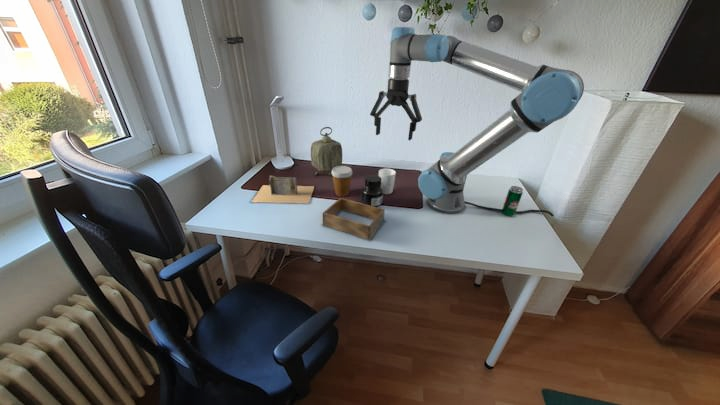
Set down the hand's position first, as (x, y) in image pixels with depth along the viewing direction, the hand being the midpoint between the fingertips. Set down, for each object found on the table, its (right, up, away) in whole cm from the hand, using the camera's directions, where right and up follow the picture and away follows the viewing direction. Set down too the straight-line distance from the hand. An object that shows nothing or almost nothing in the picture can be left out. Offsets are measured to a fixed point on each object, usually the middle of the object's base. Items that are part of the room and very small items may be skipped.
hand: (393, 136), depth 108 cm
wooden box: (-16, -34, -2) cm, 38 cm away
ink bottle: (-8, -27, +11) cm, 30 cm away
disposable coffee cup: (-22, -22, +18) cm, 36 cm away
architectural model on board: (-48, -22, +17) cm, 56 cm away
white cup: (-1, -21, +22) cm, 30 cm away
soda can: (+49, -31, +7) cm, 58 cm away
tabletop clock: (-30, -11, +37) cm, 49 cm away
